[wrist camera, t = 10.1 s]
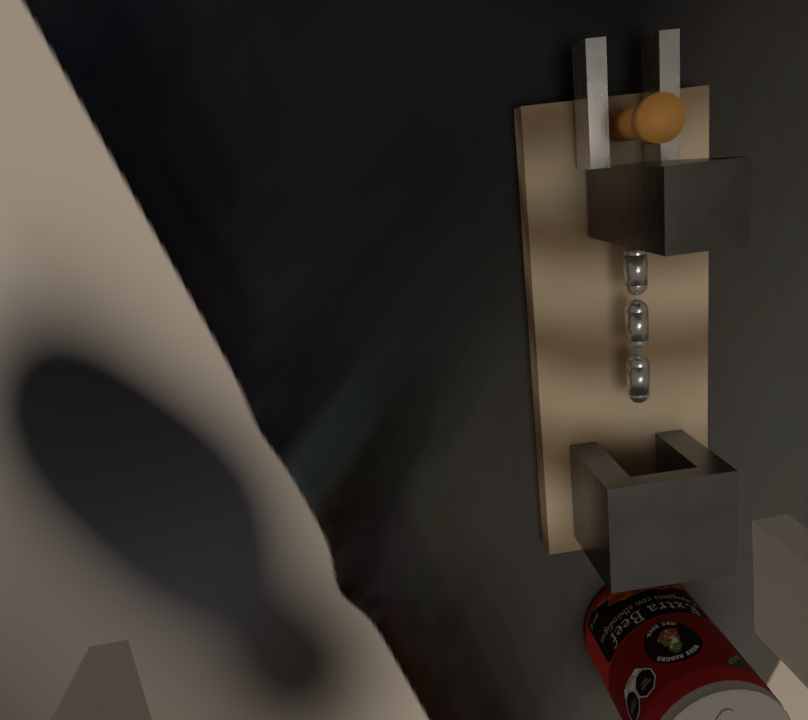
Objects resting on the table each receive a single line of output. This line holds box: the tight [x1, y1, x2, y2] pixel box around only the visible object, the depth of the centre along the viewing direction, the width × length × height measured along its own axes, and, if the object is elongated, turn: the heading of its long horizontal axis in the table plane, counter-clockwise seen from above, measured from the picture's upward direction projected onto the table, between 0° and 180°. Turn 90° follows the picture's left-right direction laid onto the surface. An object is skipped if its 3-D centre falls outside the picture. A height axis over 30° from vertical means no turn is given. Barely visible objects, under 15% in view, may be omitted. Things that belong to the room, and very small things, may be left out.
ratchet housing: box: [569, 429, 738, 593], centre depth 39 cm, size 6×7×6 cm
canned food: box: [585, 583, 790, 720], centre depth 41 cm, size 8×8×11 cm
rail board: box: [514, 85, 709, 555], centre depth 40 cm, size 26×10×2 cm, turn 6°
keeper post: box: [608, 92, 686, 144], centre depth 34 cm, size 2×2×5 cm
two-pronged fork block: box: [572, 28, 751, 403], centre depth 33 cm, size 19×5×9 cm, turn 6°
